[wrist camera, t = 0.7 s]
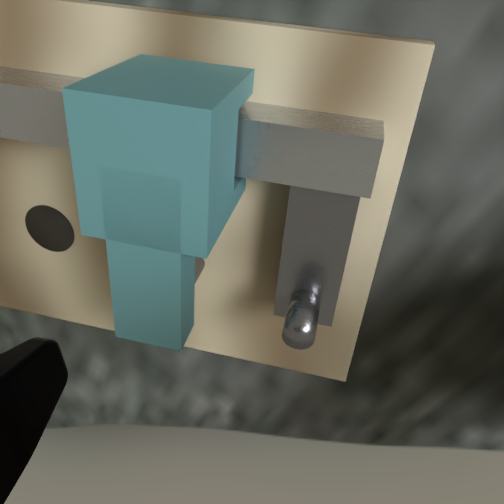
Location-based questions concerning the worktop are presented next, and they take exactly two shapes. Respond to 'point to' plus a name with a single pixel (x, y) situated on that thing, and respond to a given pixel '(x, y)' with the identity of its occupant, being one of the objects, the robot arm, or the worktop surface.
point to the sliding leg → (156, 181)
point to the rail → (248, 135)
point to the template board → (256, 192)
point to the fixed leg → (312, 261)
